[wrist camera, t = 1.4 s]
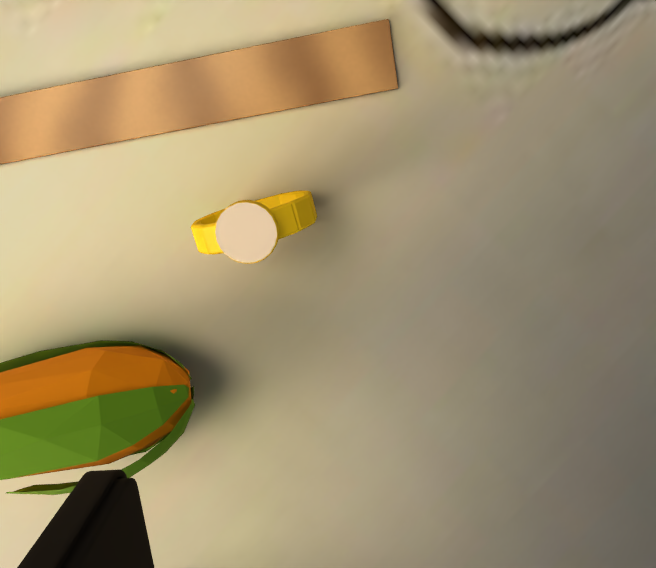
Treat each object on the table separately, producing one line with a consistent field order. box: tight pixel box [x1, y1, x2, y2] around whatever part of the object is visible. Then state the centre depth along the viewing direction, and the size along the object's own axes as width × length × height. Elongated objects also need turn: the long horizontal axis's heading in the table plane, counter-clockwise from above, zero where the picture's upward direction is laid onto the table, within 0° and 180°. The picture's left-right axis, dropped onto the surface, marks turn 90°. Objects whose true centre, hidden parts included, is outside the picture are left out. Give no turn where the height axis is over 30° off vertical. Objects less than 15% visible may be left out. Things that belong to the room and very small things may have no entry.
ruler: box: [0, 19, 398, 164], centre depth 29 cm, size 30×3×1 cm, turn 100°
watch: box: [191, 191, 317, 264], centre depth 28 cm, size 6×3×6 cm, turn 105°
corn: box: [0, 341, 195, 495], centre depth 31 cm, size 7×8×20 cm
